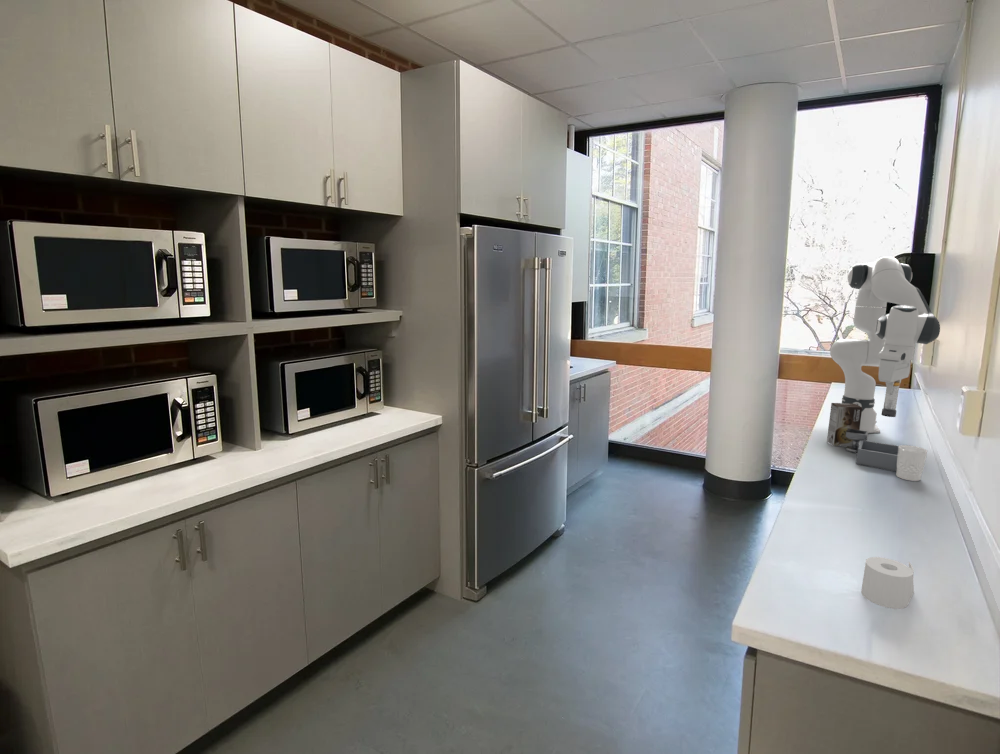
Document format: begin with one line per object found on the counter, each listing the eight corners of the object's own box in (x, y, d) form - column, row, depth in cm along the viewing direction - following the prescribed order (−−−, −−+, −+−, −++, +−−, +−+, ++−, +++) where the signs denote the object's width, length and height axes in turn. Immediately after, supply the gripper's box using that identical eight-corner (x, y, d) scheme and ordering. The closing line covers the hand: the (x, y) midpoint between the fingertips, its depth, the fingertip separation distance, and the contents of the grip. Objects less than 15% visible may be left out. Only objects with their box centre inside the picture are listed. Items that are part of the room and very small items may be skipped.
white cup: (895, 479, 192) (900, 449, 190) (892, 472, 199) (896, 443, 197) (924, 483, 188) (929, 453, 187) (920, 476, 195) (925, 447, 194)
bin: (859, 454, 218) (861, 439, 217) (906, 462, 210) (908, 447, 209) (855, 464, 206) (858, 449, 205) (905, 473, 198) (908, 457, 197)
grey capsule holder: (845, 447, 226) (847, 428, 225) (865, 450, 223) (868, 431, 221) (843, 451, 221) (846, 432, 220) (864, 455, 217) (867, 435, 216)
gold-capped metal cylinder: (879, 415, 205) (884, 381, 203) (883, 413, 208) (888, 380, 205) (893, 417, 202) (898, 383, 200) (897, 415, 204) (902, 382, 202)
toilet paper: (913, 592, 123) (919, 561, 122) (904, 614, 115) (909, 581, 114) (869, 577, 128) (873, 548, 127) (856, 597, 120) (861, 566, 119)
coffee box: (849, 442, 233) (855, 403, 230) (857, 447, 227) (863, 407, 224) (825, 441, 234) (830, 402, 231) (833, 446, 228) (838, 405, 225)
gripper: (897, 350, 210) (891, 387, 212) (877, 354, 197) (871, 394, 199) (918, 352, 205) (912, 390, 207) (898, 356, 192) (892, 397, 194)
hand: (891, 392), depth 203 cm, fingers closed on gold-capped metal cylinder, 4 cm apart
